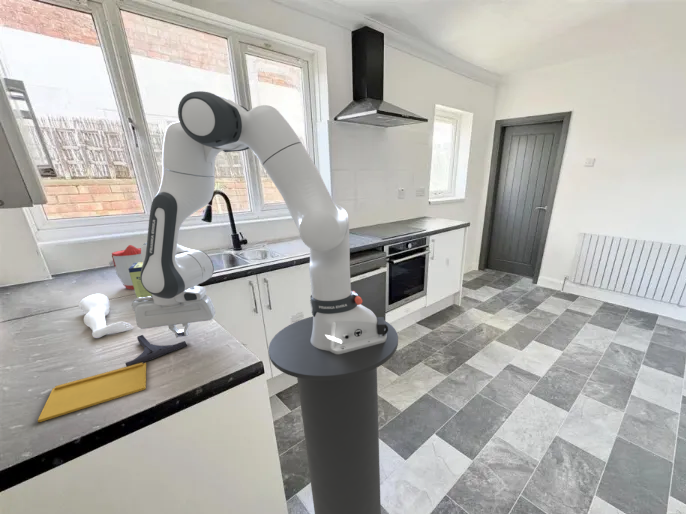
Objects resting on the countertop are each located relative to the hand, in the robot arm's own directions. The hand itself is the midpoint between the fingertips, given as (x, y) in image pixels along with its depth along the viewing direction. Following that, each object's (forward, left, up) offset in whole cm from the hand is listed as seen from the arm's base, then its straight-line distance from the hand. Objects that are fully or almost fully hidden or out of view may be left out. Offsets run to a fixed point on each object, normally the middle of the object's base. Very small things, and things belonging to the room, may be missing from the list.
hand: (182, 336), depth 95 cm
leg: (+33, -26, -2) cm, 42 cm away
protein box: (+21, -46, -2) cm, 50 cm away
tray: (+12, +21, -2) cm, 24 cm away
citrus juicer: (+38, -67, -2) cm, 77 cm away
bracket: (+8, +3, -2) cm, 9 cm away
